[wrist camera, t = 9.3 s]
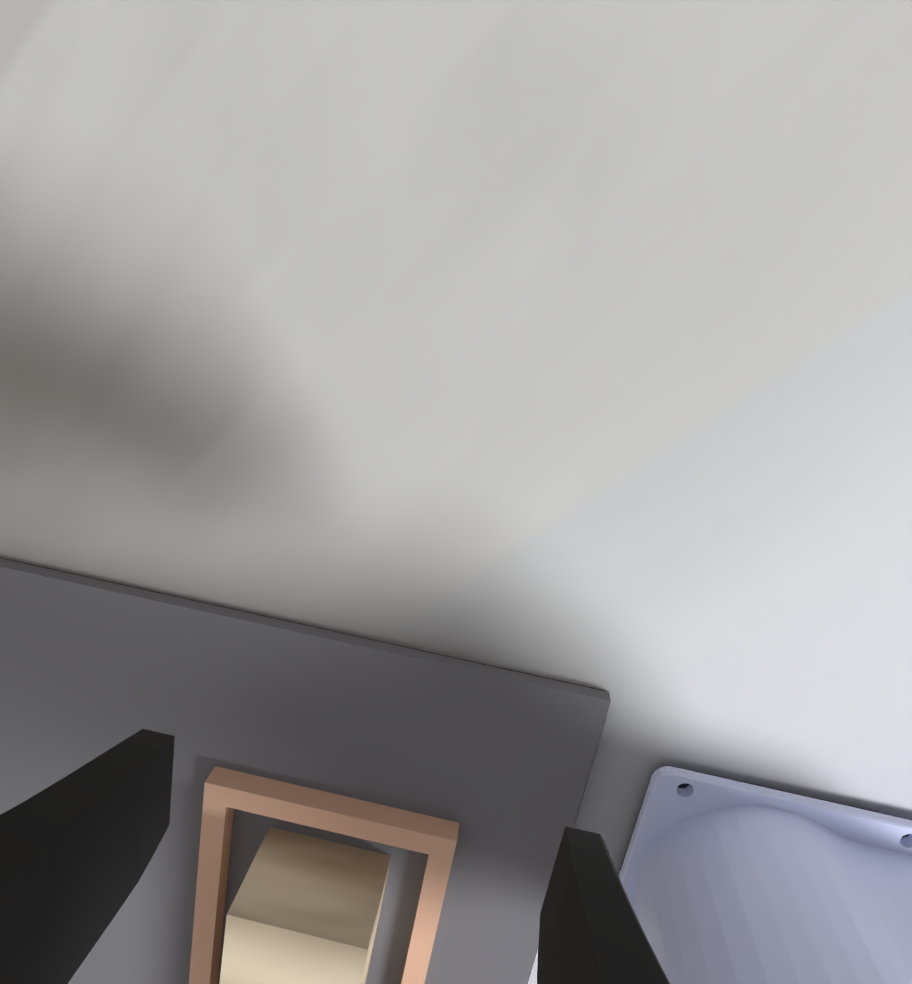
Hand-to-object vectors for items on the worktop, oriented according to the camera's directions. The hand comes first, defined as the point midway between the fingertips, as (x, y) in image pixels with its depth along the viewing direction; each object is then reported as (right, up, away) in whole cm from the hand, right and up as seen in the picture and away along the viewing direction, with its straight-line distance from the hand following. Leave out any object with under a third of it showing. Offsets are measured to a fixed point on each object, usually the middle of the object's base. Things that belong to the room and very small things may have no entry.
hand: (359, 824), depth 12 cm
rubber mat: (-7, -7, +13) cm, 16 cm away
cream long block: (-4, -11, +13) cm, 17 cm away
